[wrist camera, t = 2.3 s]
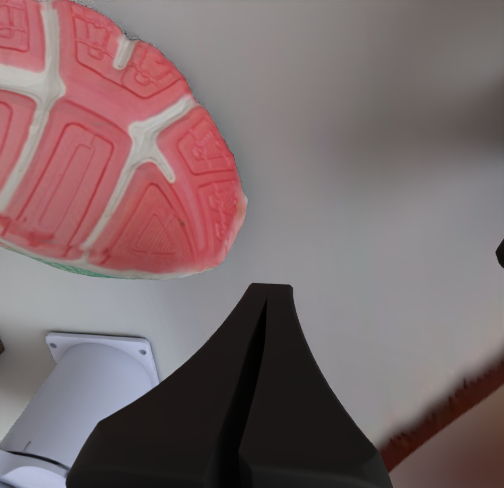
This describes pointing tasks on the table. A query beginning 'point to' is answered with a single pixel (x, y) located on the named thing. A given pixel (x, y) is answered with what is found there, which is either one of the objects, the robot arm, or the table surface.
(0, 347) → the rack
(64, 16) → the athletic shoe
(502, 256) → the controller
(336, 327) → the table surface
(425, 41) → the table surface
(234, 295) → the table surface
